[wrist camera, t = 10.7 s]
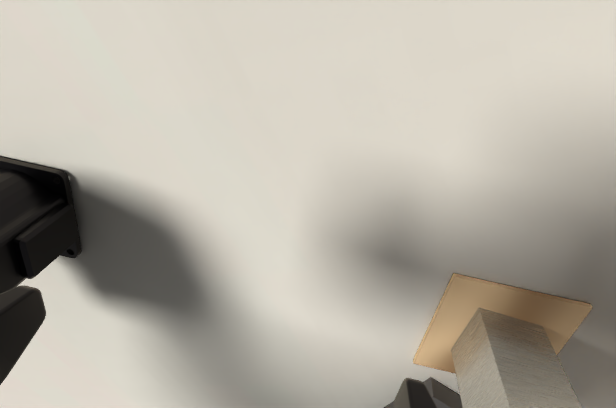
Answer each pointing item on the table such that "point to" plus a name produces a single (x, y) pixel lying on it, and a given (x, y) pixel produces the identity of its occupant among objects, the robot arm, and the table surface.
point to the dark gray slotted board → (440, 395)
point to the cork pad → (501, 299)
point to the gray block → (509, 365)
